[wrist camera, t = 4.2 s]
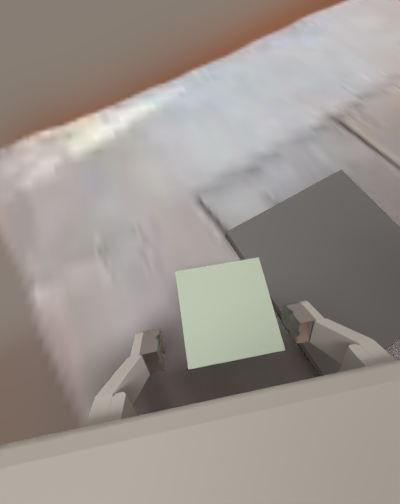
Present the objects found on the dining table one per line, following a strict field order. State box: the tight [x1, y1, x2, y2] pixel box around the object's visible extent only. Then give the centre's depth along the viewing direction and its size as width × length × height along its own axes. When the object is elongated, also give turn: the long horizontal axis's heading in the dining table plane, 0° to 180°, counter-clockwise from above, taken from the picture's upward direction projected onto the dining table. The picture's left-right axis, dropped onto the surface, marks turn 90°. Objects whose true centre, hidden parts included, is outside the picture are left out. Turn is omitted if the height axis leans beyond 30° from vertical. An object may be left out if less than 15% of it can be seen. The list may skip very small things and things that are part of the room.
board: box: [226, 170, 400, 376], centre depth 18 cm, size 16×16×1 cm
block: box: [175, 257, 285, 370], centre depth 14 cm, size 5×5×8 cm
